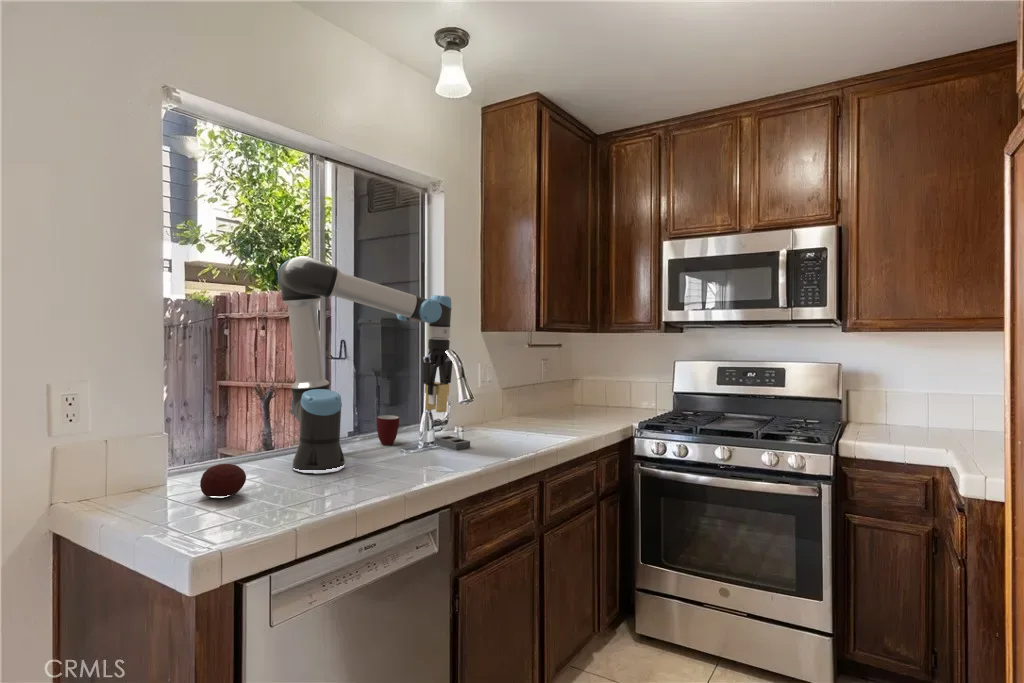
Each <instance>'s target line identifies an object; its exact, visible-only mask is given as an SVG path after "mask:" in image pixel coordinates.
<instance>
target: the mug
mask: <svg viewBox="0 0 1024 683" xmlns="http://www.w3.org/2000/svg"><path fill="white" fill-rule="evenodd" d="M399 425H400V416H397V415H393V414H392V415H390V414H389V415H387V414H386V415H378V416H377V417H376V429H377V431H376V432H377V436H378V440H379V442H380V444H381V445H382V444H383V446H390V445H389V444H392V445H393V444H394V442H395V441H396V439H397V436H398V430H399Z"/></svg>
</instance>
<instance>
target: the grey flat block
mask: <svg viewBox="0 0 1024 683" xmlns="http://www.w3.org/2000/svg"><path fill="white" fill-rule="evenodd" d="M436 444H437V445H436ZM434 445H436V446H440V447H443V448H446V449H450V450H453V451H461V450H466V449H470V448H471V440H467V439H464V438H460V437H456V436H453V435H443V436H437V437H434Z"/></svg>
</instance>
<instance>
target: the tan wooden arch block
mask: <svg viewBox="0 0 1024 683" xmlns="http://www.w3.org/2000/svg"><path fill="white" fill-rule="evenodd" d="M434 386H436V391H435V404H434V405H433V404H428V403H429V395H428V385H426V384H424V393H425V407H424V408H425V411H426V410H428V411H433V410H435V412H436V413H447V411H448V410H447V409H448V406H447V405H448V396H449V395H450V383H448V384H445V383H440V381H439V382H437V381H435V382H434Z"/></svg>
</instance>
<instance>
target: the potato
mask: <svg viewBox="0 0 1024 683" xmlns="http://www.w3.org/2000/svg"><path fill="white" fill-rule="evenodd" d="M246 479H247V474H246V472H245V470H244V469H243V468H242V467H240V466H238V465H236V464H234V463H233V464H232V463H220V464H216V465H213V466H211V467H209V468H207V469H206V470H205V471H204V472H203V473H202V476H201V478H200V483H199V486H200V487H199V488H200V490H201V492H202V494H203V496H205V495H206V497H207V496H227V495H232V494H234V495H236V494H237V493H238V492H240V490H241V489H243V487H244V485H245V483H246ZM235 493H236V494H235ZM232 496H233V495H232Z"/></svg>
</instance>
